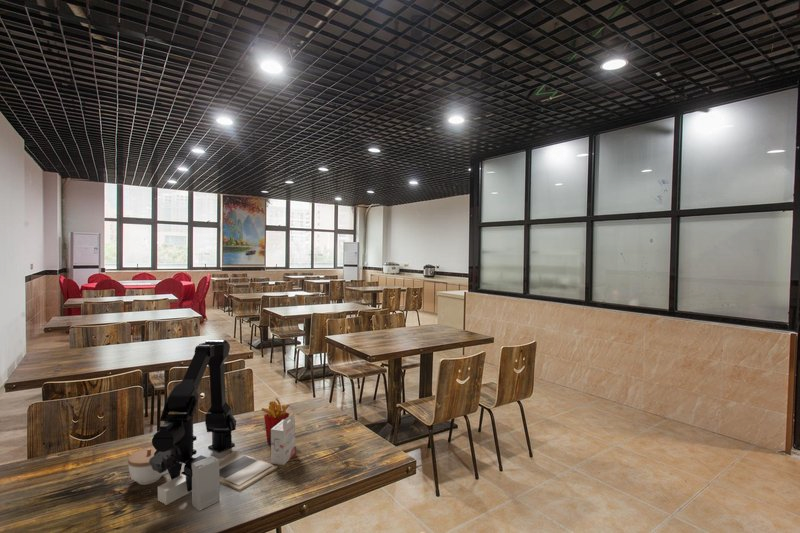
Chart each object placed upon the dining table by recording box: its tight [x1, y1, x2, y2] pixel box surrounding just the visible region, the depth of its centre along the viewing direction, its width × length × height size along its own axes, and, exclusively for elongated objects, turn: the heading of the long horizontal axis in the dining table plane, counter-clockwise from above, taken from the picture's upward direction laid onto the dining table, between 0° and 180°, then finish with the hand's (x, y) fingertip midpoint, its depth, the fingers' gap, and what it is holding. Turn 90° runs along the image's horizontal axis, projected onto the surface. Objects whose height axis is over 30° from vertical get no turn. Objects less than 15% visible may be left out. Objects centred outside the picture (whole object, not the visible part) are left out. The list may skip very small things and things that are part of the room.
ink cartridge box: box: [270, 412, 296, 466], centre depth 139 cm, size 9×5×15 cm, turn 168°
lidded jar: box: [127, 446, 165, 486], centre depth 126 cm, size 11×11×9 cm
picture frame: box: [218, 450, 279, 492], centre depth 132 cm, size 20×15×1 cm
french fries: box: [260, 397, 291, 443], centre depth 153 cm, size 9×8×15 cm
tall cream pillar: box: [157, 474, 192, 506], centre depth 120 cm, size 4×12×4 cm, turn 151°
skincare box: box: [191, 455, 221, 511], centre depth 114 cm, size 6×4×12 cm
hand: (182, 487), depth 120 cm, fingers open, 6 cm apart
